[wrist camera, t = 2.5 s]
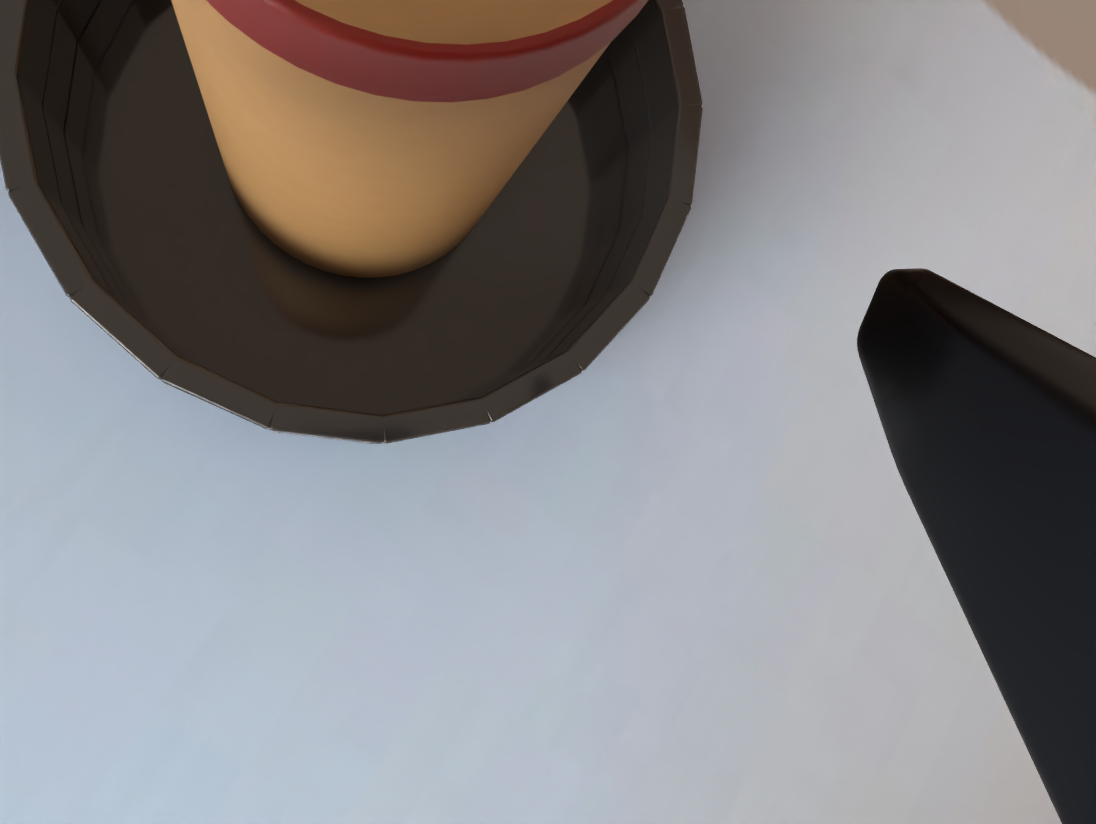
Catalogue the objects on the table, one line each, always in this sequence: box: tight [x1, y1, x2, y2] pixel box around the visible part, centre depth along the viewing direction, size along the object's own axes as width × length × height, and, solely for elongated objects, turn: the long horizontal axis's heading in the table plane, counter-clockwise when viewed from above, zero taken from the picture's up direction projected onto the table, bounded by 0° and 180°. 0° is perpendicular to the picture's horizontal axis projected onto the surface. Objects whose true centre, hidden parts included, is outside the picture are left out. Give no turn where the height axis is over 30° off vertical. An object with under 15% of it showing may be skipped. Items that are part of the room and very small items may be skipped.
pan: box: [0, 0, 702, 444], centre depth 19 cm, size 12×12×4 cm
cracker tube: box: [171, 0, 648, 278], centre depth 14 cm, size 6×6×12 cm
